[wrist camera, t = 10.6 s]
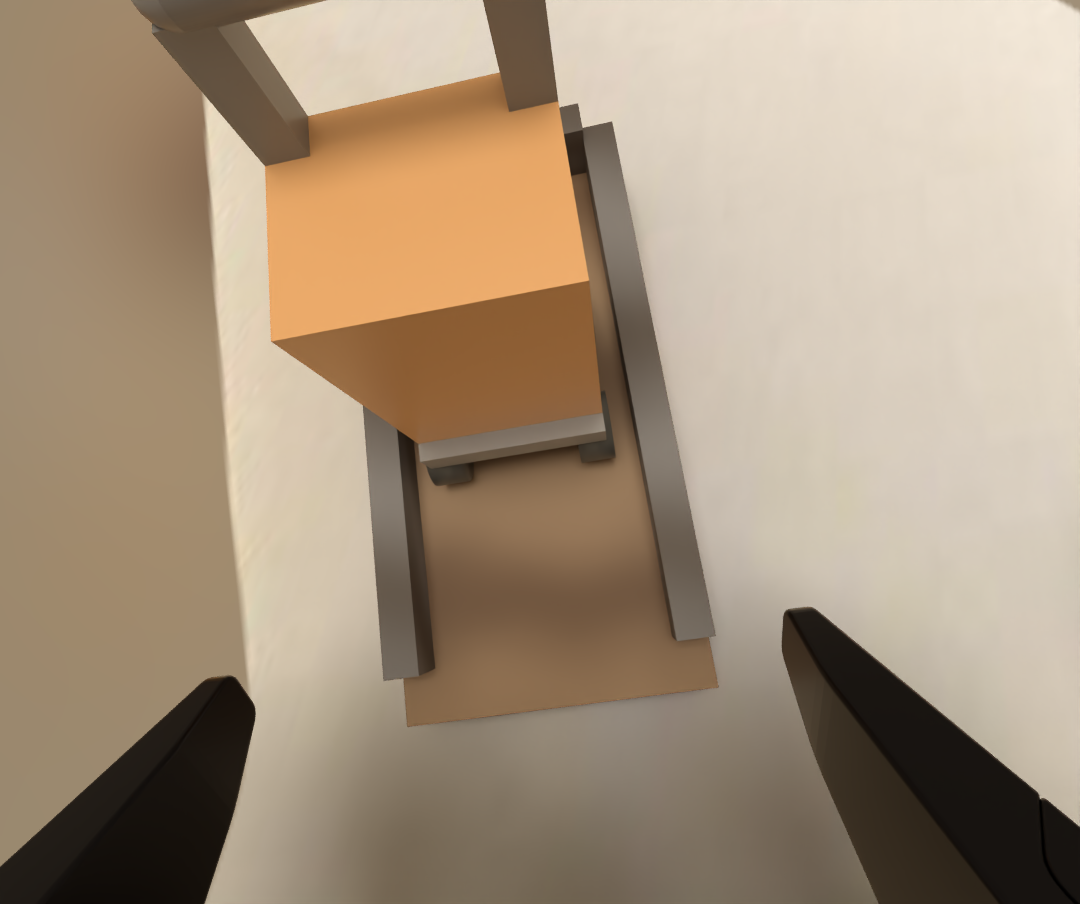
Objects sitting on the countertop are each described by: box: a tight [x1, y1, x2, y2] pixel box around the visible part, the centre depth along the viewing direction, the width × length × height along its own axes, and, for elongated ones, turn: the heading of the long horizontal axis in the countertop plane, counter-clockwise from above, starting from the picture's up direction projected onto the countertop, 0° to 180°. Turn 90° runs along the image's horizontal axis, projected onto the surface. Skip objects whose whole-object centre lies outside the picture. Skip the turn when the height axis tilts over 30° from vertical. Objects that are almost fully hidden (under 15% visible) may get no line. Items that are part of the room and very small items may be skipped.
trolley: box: [131, 0, 616, 486], centre depth 13 cm, size 6×5×13 cm
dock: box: [363, 104, 718, 727], centre depth 19 cm, size 18×9×4 cm, turn 8°
